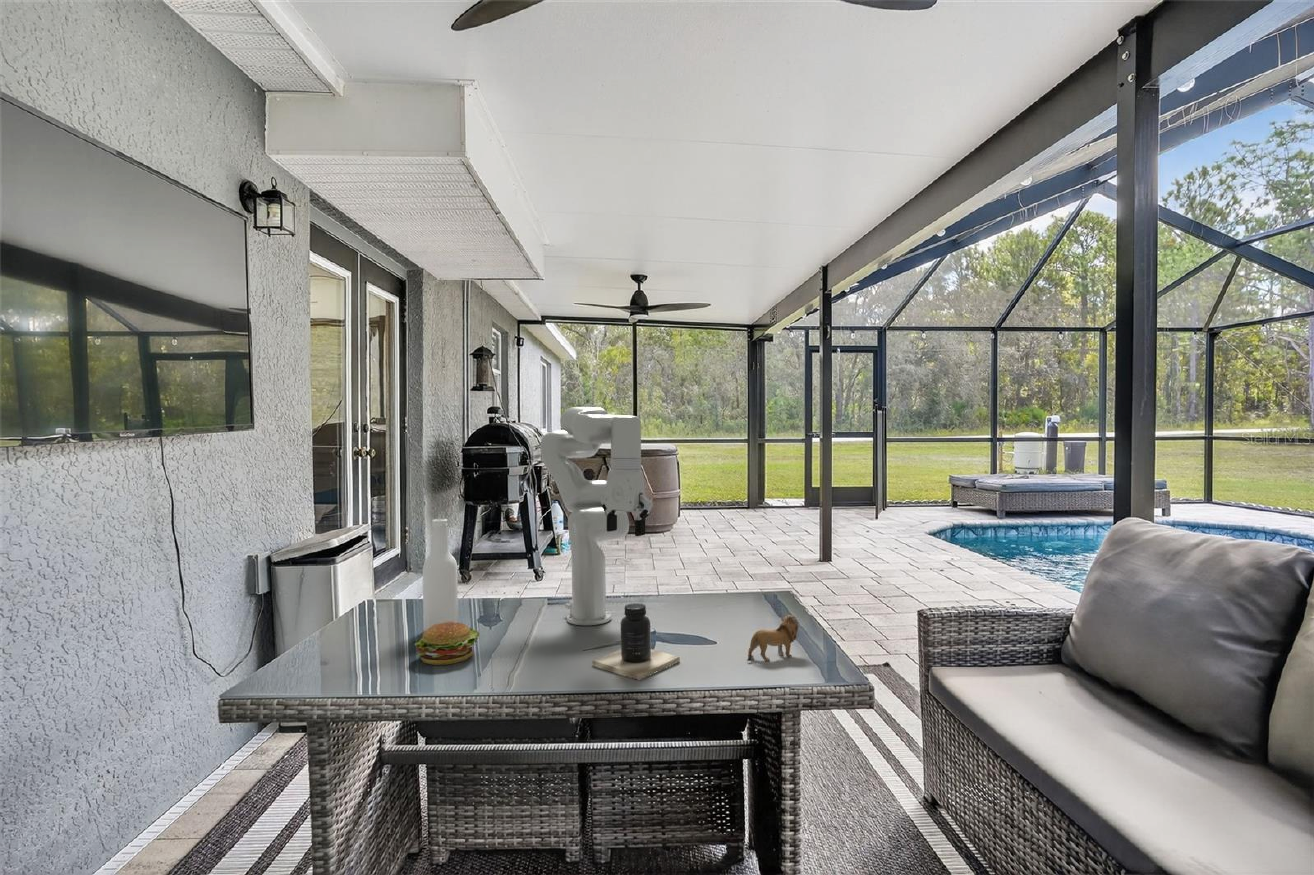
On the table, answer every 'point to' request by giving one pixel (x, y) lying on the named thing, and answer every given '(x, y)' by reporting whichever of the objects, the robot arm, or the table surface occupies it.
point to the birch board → (635, 664)
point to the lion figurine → (775, 638)
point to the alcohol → (439, 580)
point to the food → (446, 643)
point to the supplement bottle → (635, 634)
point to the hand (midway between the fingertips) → (625, 533)
